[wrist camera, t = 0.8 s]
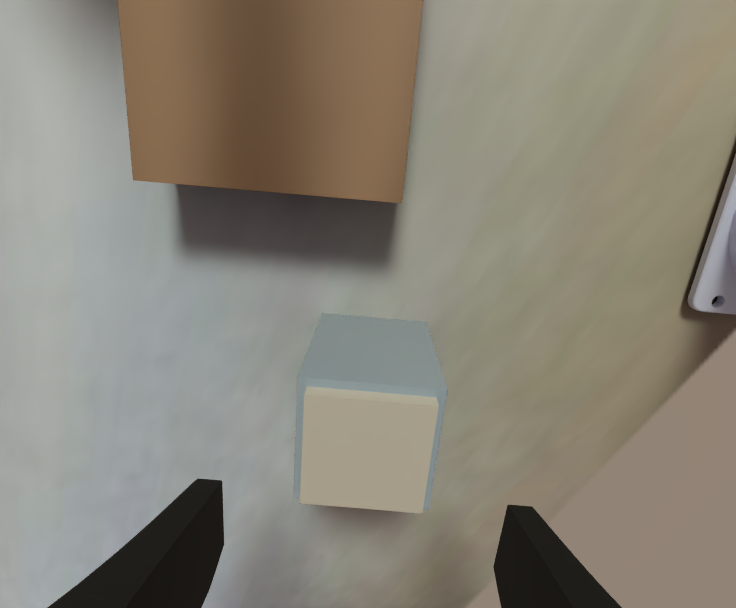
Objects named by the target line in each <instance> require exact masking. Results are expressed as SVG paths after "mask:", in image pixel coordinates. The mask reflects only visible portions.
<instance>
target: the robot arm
mask: <svg viewBox="0 0 736 608" xmlns="http://www.w3.org/2000/svg"><path fill="white" fill-rule="evenodd" d="M716 296H718V298H717V301H716V302H715V303H714V304H712V300H713V299H714V298H715V297H716ZM688 304H689V306H690V307H691V308H693V309H695V310H697V311H701V312H711V313H722V314H734V315H736V154H735V157H734V160H733V164H732V167H731V170H730V173H729V176H728V179H727V182H726V185H725V188H724V191H723V194H722V197H721V200H720V203H719V206H718V209H717V212H716V215H715V218H714V221H713V224H712V227H711V230H710V233H709V236H708V239H707V242H706V245H705V248H704V251H703V254H702V257H701V260H700V263H699V266H698V269H697V272H696V275H695V278H694V281H693V284H692V287H691V290H690V293H689V296H688ZM223 546H224V527H223V494H222V481H220V480H208V479H197V480H196V481H194V482H193V483H192V484H191V485H190V486H189V487H188V488H187V489H186V490H185V491H184V492H183V493H181V494H180V495H179V496H178V497H177V498H176V499H175V500H174V501H173V502H172V503H171V504H170V505H169V506H168V507H167V508H166V509H164V510H163V511H162V512H161V513H160V514H159V515H158V516H157V517H156V518H155V519H154V520H153V521H151V522H150V523H149V524H148V525H147V526H146V527H145V528H144V529H143V530H141V531H140V532H139V533H138V534H137V535H136V536H135V537H134V538H132V539H131V540H130V541H129V542H128V543H127V544H126V545H125V546H123V547H122V548H121V549H120V550H119V551H118V552H116V553H115V554H114V555H113V556H112V557H110V558H109V559H108V560H107V561H106V562H104V563H103V564H102V565H101V566H100V567H98V568H97V569H96V570H95V571H94V572H92V573H91V574H90V575H89V576H87V577H86V578H85V579H84V580H83V581H81V582H80V583H79V584H78V585H76V586H75V587H74V588H72V589H71V590H70V591H69V592H67V593H66V594H65V595H63V596H62V597H61V598H60V599H58V600H57V601H56V602H54V603H53V604H52V605H50V606H49V607H48V608H201V607H202V605H203V603H204V600H205V598H206V596H207V593H208V591H209V589H210V586H211V583H212V580H213V577H214V574H215V571H216V568H217V565H218V562H219V558H220V555H221V552H222V549H223ZM494 572H495V577H496V582H497V587H498V593H499V598H500V603H501V607H502V608H621V607H620V605H619V604H618V603H617V602H616V601H615V600H614V599H613V598H612V597H611V596H610V595H609V594H608V593H607V592H606V591H605V589H604V588H603V587H602V586H601V585H600V584H599V583H598V582H597V581H596V580H595V579H594V577H593V576H592V575H591V574H590V573H589V572H588V571H587V570H586V568H585V567H584V566H583V565H582V564H581V563H580V562H579V561H578V559H577V558H576V557H575V556H574V555H573V554H572V553H571V551H570V550H569V549H568V548H567V547H566V546H565V545H564V543H563V542H562V541H561V540H560V539H559V537H558V536H557V535H556V534H555V533H554V532H553V530H552V529H551V528H550V527H549V526H548V525H547V523H546V522H545V521H544V520H543V519H542V518H541V516H540V515H539V514H538V513H537V512H536V511H535V510H534V508H533V507H529V506H518V505H508V506H507V510H506V515H505V519H504V523H503V528H502V532H501V536H500V541H499V545H498V549H497V554H496V558H495V563H494Z"/></svg>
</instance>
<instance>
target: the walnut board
mask: <svg viewBox="0 0 736 608" xmlns="http://www.w3.org/2000/svg"><path fill="white" fill-rule="evenodd" d="M117 1H118V12H119V24H120V35H121V47H122V58H123V70H124V81H125V93H126V104H127V116H128V127H129V139H130V150H131V162H132V173H133V180H137V181H149V182H161V183H172V184H184V185H195V186H207V187H219V188H230V189H242V190H254V191H265V192H277V193H288V194H300V195H312V196H323V197H335V198H346V199H358V200H370V201H381V202H393V203H402V198H403V189H404V179H405V169H406V160H407V150H408V141H409V131H410V121H411V112H412V102H413V93H414V83H415V74H416V64H417V54H418V45H419V35H420V26H421V16H422V6H423V0H117Z"/></svg>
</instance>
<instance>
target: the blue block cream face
mask: <svg viewBox="0 0 736 608" xmlns="http://www.w3.org/2000/svg"><path fill="white" fill-rule="evenodd" d="M447 391H448V389H447V386H446V383H445V380H444V376H443V373H442V370H441V367H440V364H439V360H438V357H437V354H436V351H435V348H434V345H433V341H432V338H431V335H430V332H429V329H428V326H427V322H421V321H409V320H398V319H386V318H374V317H363V316H351V315H339V314H328V313H322V316H321V318H320V321H319V323H318V326H317V328H316V331H315V334H314V336H313V339H312V341H311V344H310V346H309V349H308V351H307V354H306V356H305V359H304V362H303V364H302V367H301V369H300V372H299V374H298V377H297V407H296V436H295V466H294V496H293V498H295V499H300V503H304V504H315V505H327V506H339V507H351V508H363V509H374V510H386V511H398V512H410V513H423V509H425V510H429V504H430V498H431V492H432V485H433V479H434V473H435V466H436V460H437V454H438V448H439V441H440V435H441V429H442V422H443V416H444V410H445V403H446V397H447Z"/></svg>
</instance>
